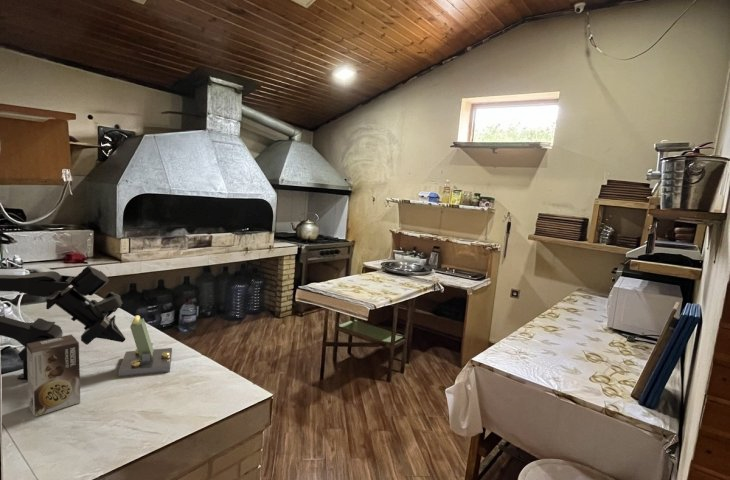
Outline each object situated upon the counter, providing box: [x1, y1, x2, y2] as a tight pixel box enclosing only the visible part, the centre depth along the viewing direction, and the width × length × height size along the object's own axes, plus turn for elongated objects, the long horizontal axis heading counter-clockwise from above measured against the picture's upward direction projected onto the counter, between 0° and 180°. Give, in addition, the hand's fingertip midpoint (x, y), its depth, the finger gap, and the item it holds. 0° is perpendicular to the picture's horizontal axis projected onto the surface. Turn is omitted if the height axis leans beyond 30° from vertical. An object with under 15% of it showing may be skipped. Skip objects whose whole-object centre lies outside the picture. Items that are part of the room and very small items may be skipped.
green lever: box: [130, 315, 154, 360], centre depth 116 cm, size 3×5×13 cm, turn 23°
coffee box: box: [27, 334, 81, 418], centre depth 94 cm, size 9×6×16 cm
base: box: [118, 342, 173, 378], centre depth 118 cm, size 13×13×5 cm
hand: (124, 340), depth 115 cm, fingers closed
